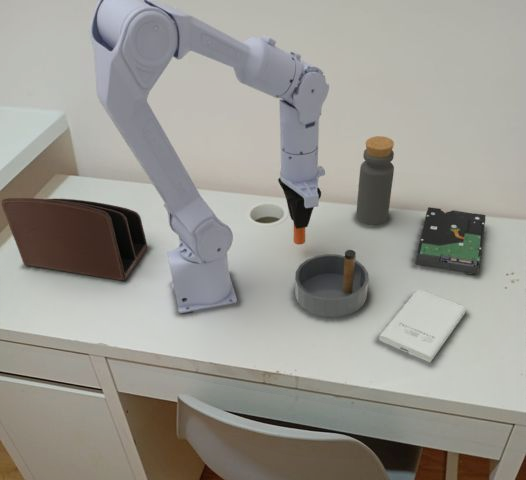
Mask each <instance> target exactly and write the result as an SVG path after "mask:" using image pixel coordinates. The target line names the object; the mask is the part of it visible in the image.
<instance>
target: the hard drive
mask: <svg viewBox="0 0 526 480" xmlns="http://www.w3.org/2000/svg"><path fill="white" fill-rule="evenodd" d="M466 311H467V307H465V306H463V305H461V304H459V303H456V302H453V301H451V300H448V299H446V298H443V297H440V296H437V295H436V294H432V293H430V292H428V291H425V290H422V289H416V290H415V291H414V293H413V294H412V295H411V296H410V298H409V299H408V300H407V302H406V303H405V304H404V305H403V306H402V308H401V309H400V310H399V311H398V312H397V314H396V315H395V316H394V317H393V318H392V320H391V321H390V322H389V323H388V325H387V326H386V327H385V328H384V330H383V331H382V333H380V334H379V338H378V340H379V341H380V342H382V343H384V344H387V345H389V346H392V347H393V348H395V349H398V350H400V351H402V352H404V353H406V354H409V355H412V356H413V357H416V358H418V359H421V360H423V361H425V362H428V363H432V361H433V359H434V358H435V357H436V355H437V354H438V352H439V351H440V349H441V348H442V347H443V345H444V344H445V343H446V341H447V340H448V338H449V337H450V335H451V334H452V333H453V331H454V330H455V328H456V327H457V325H458V324H460V323H459V322H461V320H462V318H464V316H465V313H466Z"/></svg>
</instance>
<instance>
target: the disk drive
mask: <svg viewBox="0 0 526 480" xmlns="http://www.w3.org/2000/svg"><path fill="white" fill-rule="evenodd" d="M485 225H486V214H481V213H475V212H474V213H472V212H465V211H459V210H451V211H446V212H445V211H444V210H442V209H441V208H438V207H430V206H429V207H428V208H427V210H426V213H425V219H424V223H423V227H422V231H421V234H420V240H419V242H418V246H417V247H418V248H417V253H416V257H415V265H417V266H420V267H421V266H422V267H427V268H428V267H429V268H435V269H440V270H441V269H442V270H447V271H454V272H460V273H464V274H468V275H478V272H479V269H480V266H481V265H480V264H481V258H482V254H483V252H482V250H483V243H484V235H485Z"/></svg>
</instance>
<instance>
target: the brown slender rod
mask: <svg viewBox="0 0 526 480" xmlns="http://www.w3.org/2000/svg"><path fill="white" fill-rule="evenodd" d="M356 254H357V253H356V251H355V250H353V249H347V250H345V251H344V256H345V261H344V275H343V289H342V291H343V292H344V293H351V292H352V289H353V277H354V266H355V260H356V256H357V255H356Z"/></svg>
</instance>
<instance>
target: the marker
mask: <svg viewBox="0 0 526 480" xmlns="http://www.w3.org/2000/svg"><path fill="white" fill-rule="evenodd" d="M293 243H294V244H295V245H300V246H301V245H304V244H305V243H306V227H304V228H298V229H296V228H295V225H294V224H293Z"/></svg>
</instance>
